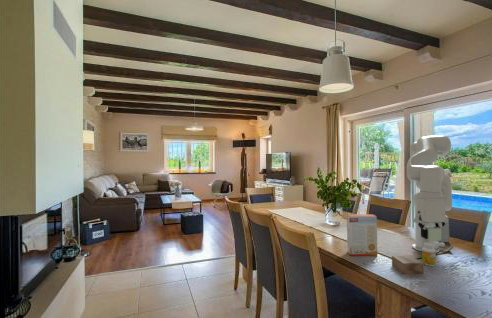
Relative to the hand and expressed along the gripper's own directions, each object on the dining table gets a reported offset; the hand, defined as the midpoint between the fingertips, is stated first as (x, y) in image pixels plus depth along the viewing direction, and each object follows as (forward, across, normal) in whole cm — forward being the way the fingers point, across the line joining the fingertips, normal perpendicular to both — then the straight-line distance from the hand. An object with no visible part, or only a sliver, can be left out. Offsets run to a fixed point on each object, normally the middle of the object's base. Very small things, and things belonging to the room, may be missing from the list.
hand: (430, 237), depth 113 cm
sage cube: (+1, 0, 0) cm, 1 cm away
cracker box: (+18, +17, -28) cm, 37 cm away
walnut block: (+17, +5, -8) cm, 20 cm away
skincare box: (+18, -40, -47) cm, 64 cm away
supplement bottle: (+18, -9, -14) cm, 24 cm away
